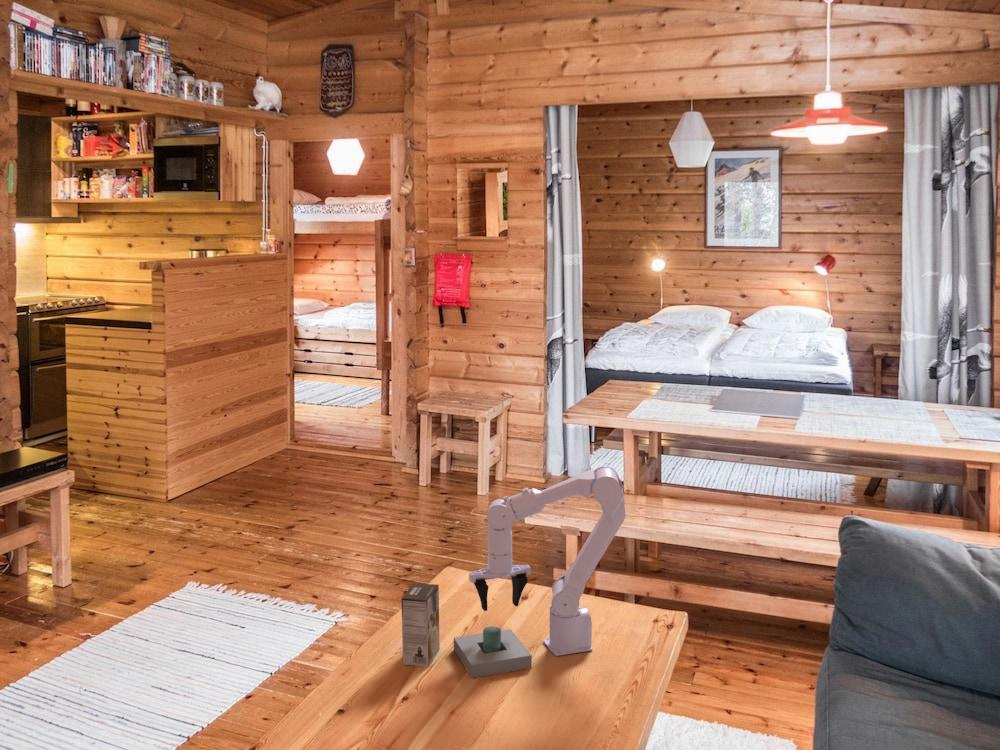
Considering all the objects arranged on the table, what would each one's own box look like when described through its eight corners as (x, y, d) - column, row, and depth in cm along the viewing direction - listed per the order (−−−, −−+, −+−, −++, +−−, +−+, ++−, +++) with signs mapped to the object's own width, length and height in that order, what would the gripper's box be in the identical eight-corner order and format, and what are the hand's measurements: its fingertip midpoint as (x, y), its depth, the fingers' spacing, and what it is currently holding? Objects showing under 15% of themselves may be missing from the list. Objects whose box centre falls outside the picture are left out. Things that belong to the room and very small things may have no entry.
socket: (510, 641, 217) (510, 629, 217) (531, 667, 204) (531, 655, 203) (453, 649, 213) (453, 637, 212) (471, 677, 200) (471, 665, 199)
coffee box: (413, 646, 214) (412, 581, 211) (440, 649, 213) (439, 584, 210) (401, 665, 205) (400, 597, 203) (429, 667, 204) (428, 600, 201)
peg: (496, 653, 211) (496, 625, 209) (503, 661, 207) (503, 632, 206) (480, 657, 209) (480, 628, 208) (487, 664, 205) (487, 635, 204)
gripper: (475, 561, 205) (475, 618, 208) (535, 553, 210) (535, 609, 212) (466, 550, 212) (466, 605, 214) (524, 543, 216) (524, 597, 219)
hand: (499, 607), depth 214 cm, fingers open, 7 cm apart
